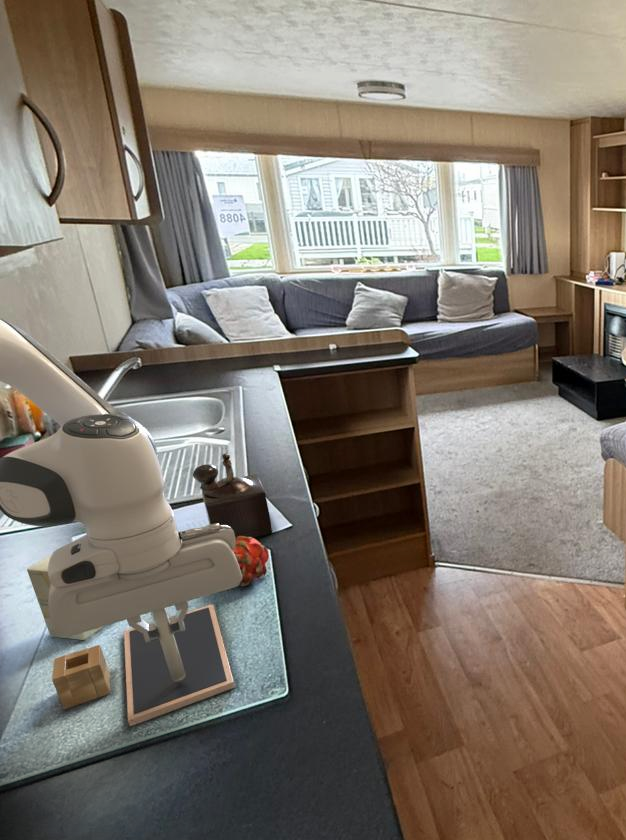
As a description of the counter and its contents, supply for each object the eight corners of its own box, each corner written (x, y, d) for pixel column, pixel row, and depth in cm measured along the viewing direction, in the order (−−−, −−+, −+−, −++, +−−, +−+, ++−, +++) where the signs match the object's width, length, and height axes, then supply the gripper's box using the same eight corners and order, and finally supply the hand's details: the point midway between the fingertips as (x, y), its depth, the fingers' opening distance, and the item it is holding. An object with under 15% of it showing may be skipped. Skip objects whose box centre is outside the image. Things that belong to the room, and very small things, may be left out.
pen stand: (63, 709, 85) (51, 679, 83) (65, 687, 89) (54, 658, 87) (110, 693, 88) (99, 664, 86) (110, 673, 92) (99, 644, 90)
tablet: (129, 726, 83) (127, 720, 82) (125, 636, 99) (123, 630, 99) (235, 687, 89) (233, 681, 89) (214, 608, 106) (212, 603, 105)
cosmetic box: (49, 637, 99) (22, 568, 94) (74, 619, 103) (49, 553, 98) (86, 641, 98) (61, 572, 94) (110, 623, 102) (87, 556, 98)
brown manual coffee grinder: (206, 527, 131) (184, 444, 124) (266, 513, 137) (248, 433, 130) (214, 561, 119) (190, 472, 112) (279, 544, 125) (261, 458, 118)
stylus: (173, 685, 87) (144, 594, 82) (172, 679, 88) (144, 589, 83) (187, 681, 88) (159, 590, 83) (186, 674, 89) (158, 584, 84)
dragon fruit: (240, 608, 108) (245, 580, 119) (280, 570, 110) (281, 547, 121) (197, 577, 105) (206, 552, 115) (238, 539, 106) (243, 517, 117)
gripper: (227, 510, 88) (248, 596, 93) (35, 557, 77) (70, 650, 82) (234, 529, 84) (256, 617, 89) (30, 581, 73) (68, 679, 78)
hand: (165, 634), depth 85 cm, fingers closed on stylus, 1 cm apart
